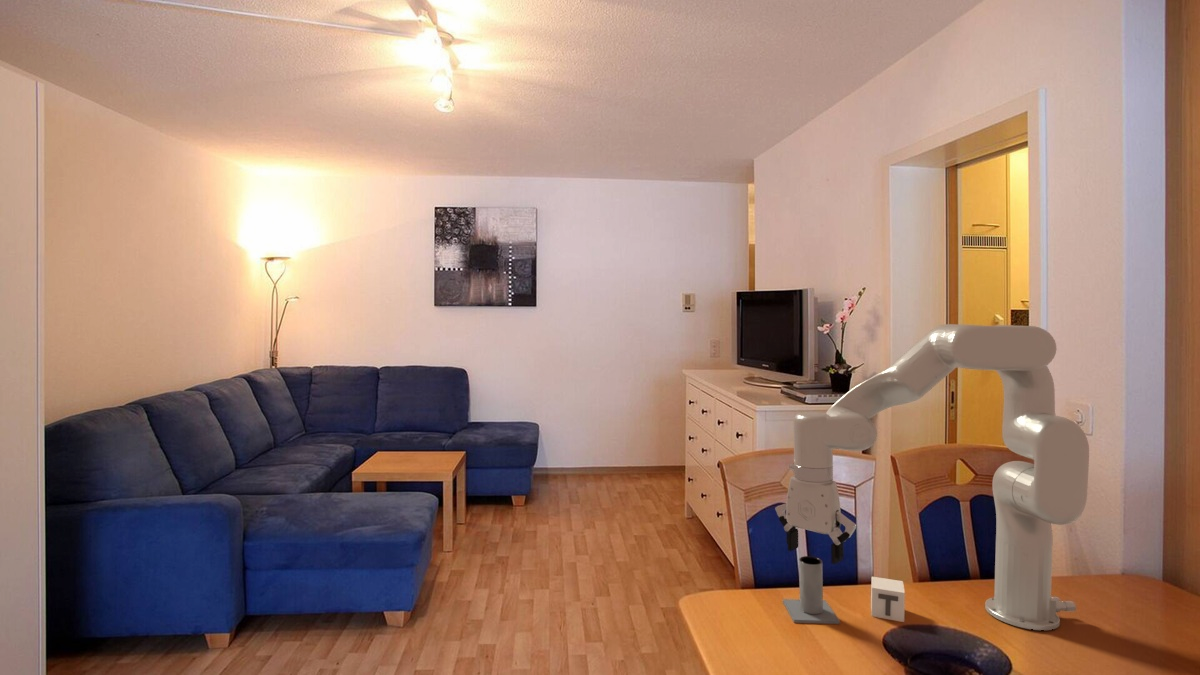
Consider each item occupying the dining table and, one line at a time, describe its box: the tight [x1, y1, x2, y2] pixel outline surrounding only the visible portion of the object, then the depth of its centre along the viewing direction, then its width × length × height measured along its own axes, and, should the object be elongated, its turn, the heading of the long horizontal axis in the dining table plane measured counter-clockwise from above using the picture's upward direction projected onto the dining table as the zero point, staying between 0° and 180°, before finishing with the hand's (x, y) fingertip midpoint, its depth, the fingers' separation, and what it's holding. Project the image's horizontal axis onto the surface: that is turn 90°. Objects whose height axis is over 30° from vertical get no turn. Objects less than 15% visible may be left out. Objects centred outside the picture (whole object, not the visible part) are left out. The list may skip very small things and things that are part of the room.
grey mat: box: [782, 598, 841, 625], centre depth 127 cm, size 9×9×1 cm
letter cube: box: [870, 576, 906, 623], centre depth 127 cm, size 6×6×6 cm
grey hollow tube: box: [798, 555, 824, 614], centre depth 127 cm, size 4×4×10 cm
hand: (814, 555), depth 127 cm, fingers open, 9 cm apart
